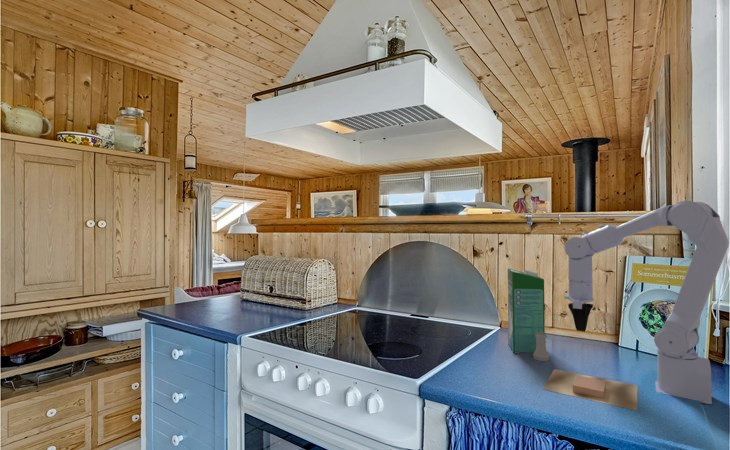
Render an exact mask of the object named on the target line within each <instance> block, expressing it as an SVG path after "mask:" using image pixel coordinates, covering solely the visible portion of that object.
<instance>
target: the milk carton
mask: <svg viewBox="0 0 730 450" xmlns="http://www.w3.org/2000/svg"><path fill="white" fill-rule="evenodd" d="M538 275H539V272H537V271H533V270H529V269H524V271H521V270H517V269H514V268H513V269H512V268H509V267H508V268H507V326H508V327H507V335H508V336H507V339H508V343H507V344H508V345H509V347H510V350H511V351H512V353H514V354H519V353H521V352H522V353H523V352H524V353H534V352H535V350H536V339H537V338H536V337H535V335H536V332H538V333H539V332H541V333H542V332H544V333H546V332H545V331H546V329H545V328H546V326H545V325H546V323H545V320H546V319H545V316H546V315H545V279H544V278H542V277H540V276H538Z"/></svg>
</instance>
